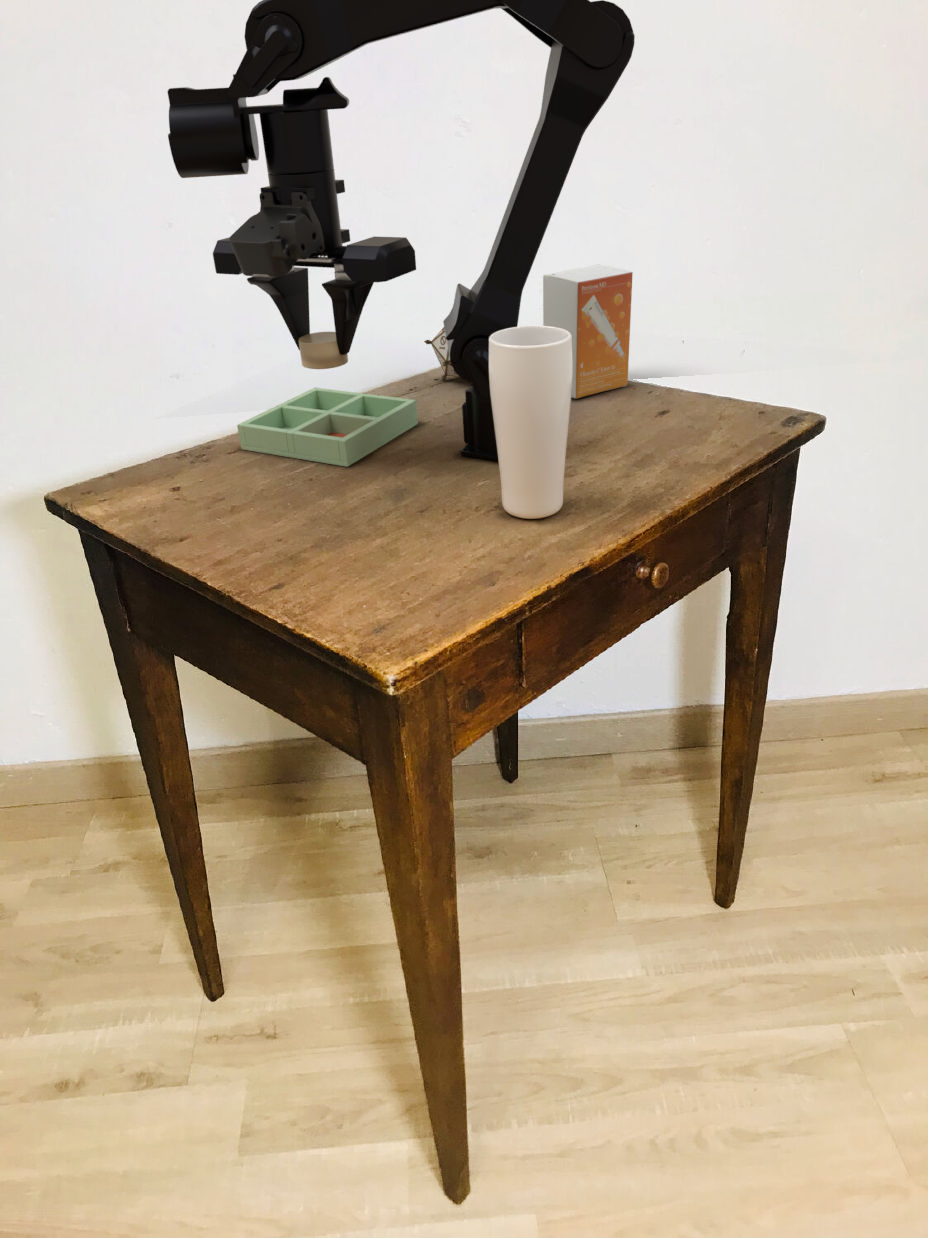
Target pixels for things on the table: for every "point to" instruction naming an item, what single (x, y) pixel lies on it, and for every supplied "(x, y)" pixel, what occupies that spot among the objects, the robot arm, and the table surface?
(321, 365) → the cylinder
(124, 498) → the table surface
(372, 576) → the table surface
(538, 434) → the drinking glass
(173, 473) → the table surface
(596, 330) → the small box
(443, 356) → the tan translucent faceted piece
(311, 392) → the grid
